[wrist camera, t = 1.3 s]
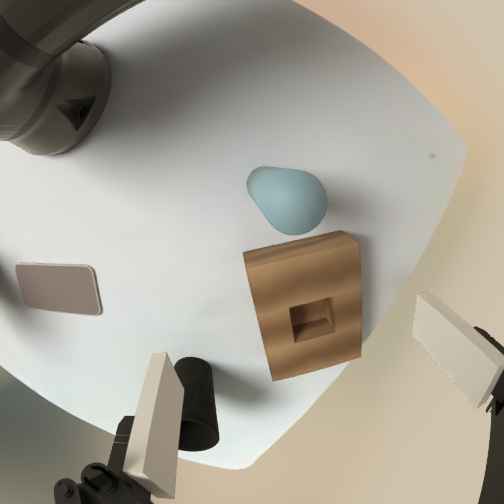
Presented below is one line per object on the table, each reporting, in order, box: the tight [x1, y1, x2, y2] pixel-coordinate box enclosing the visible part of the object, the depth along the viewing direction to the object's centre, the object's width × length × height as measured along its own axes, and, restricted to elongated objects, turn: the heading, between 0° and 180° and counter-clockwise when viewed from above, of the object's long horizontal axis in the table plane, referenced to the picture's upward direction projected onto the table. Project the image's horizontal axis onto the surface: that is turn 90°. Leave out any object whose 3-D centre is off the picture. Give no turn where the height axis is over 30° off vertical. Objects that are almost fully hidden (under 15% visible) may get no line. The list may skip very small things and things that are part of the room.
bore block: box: [243, 230, 362, 381], centre depth 32 cm, size 16×12×5 cm
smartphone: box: [15, 262, 101, 316], centre depth 31 cm, size 7×1×15 cm
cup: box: [174, 357, 219, 451], centre depth 31 cm, size 8×8×12 cm
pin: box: [247, 167, 327, 235], centre depth 23 cm, size 4×4×14 cm
